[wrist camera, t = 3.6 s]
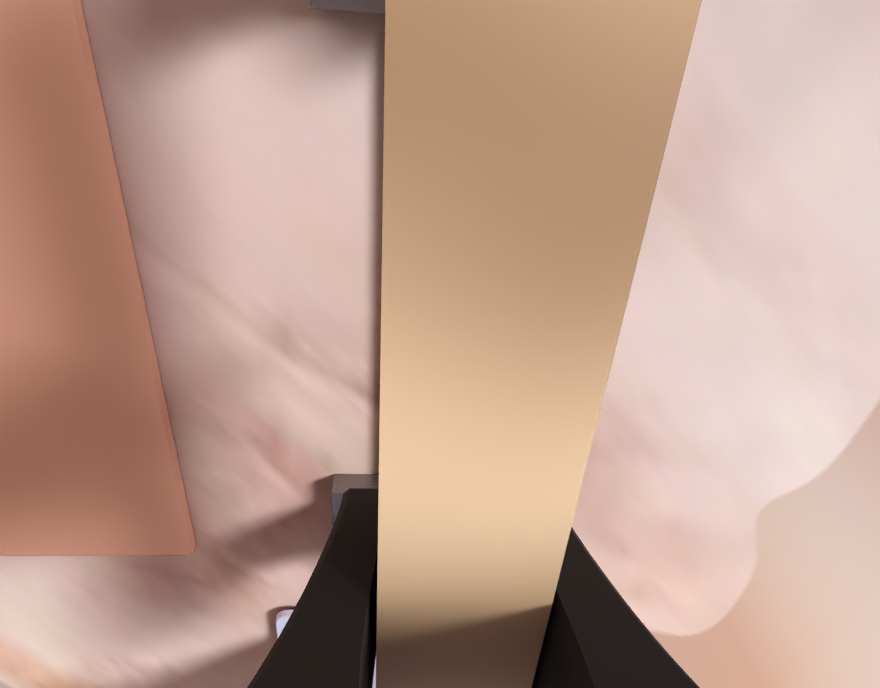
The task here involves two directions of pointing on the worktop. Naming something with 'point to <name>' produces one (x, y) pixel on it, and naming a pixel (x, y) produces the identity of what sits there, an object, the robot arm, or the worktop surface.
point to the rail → (503, 304)
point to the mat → (73, 316)
